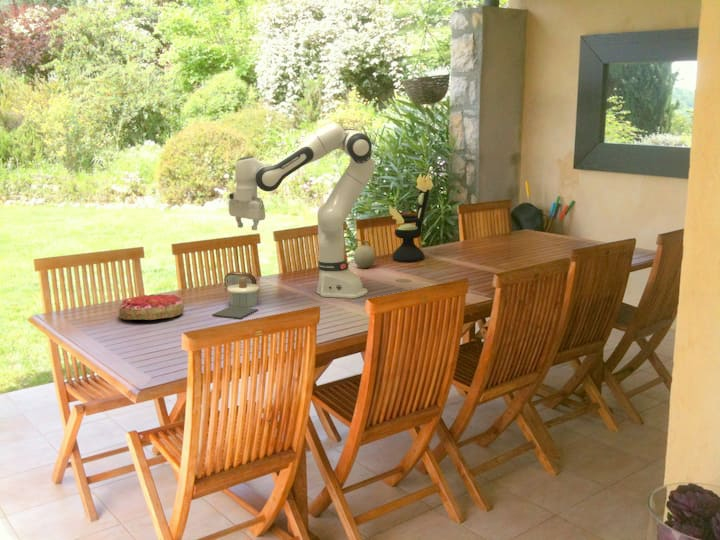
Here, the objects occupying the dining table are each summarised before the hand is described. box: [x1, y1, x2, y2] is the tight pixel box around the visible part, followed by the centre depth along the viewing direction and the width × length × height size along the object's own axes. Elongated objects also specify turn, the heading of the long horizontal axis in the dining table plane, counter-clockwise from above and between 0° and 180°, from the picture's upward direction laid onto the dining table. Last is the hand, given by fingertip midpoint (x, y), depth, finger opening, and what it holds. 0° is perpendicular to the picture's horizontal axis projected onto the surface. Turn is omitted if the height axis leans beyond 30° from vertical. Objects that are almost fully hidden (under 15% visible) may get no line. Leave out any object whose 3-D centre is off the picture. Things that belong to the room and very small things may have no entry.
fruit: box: [351, 238, 376, 269], centre depth 388 cm, size 10×12×15 cm
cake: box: [118, 294, 185, 321], centre depth 308 cm, size 25×25×8 cm
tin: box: [223, 271, 257, 288], centre depth 346 cm, size 15×3×8 cm, turn 71°
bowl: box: [229, 291, 258, 308], centre depth 323 cm, size 11×11×6 cm
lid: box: [226, 277, 260, 294], centre depth 322 cm, size 13×13×5 cm
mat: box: [212, 305, 259, 320], centre depth 310 cm, size 13×13×1 cm
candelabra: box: [388, 172, 434, 263], centre depth 402 cm, size 19×22×45 cm
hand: (247, 228), depth 326 cm, fingers open, 8 cm apart
